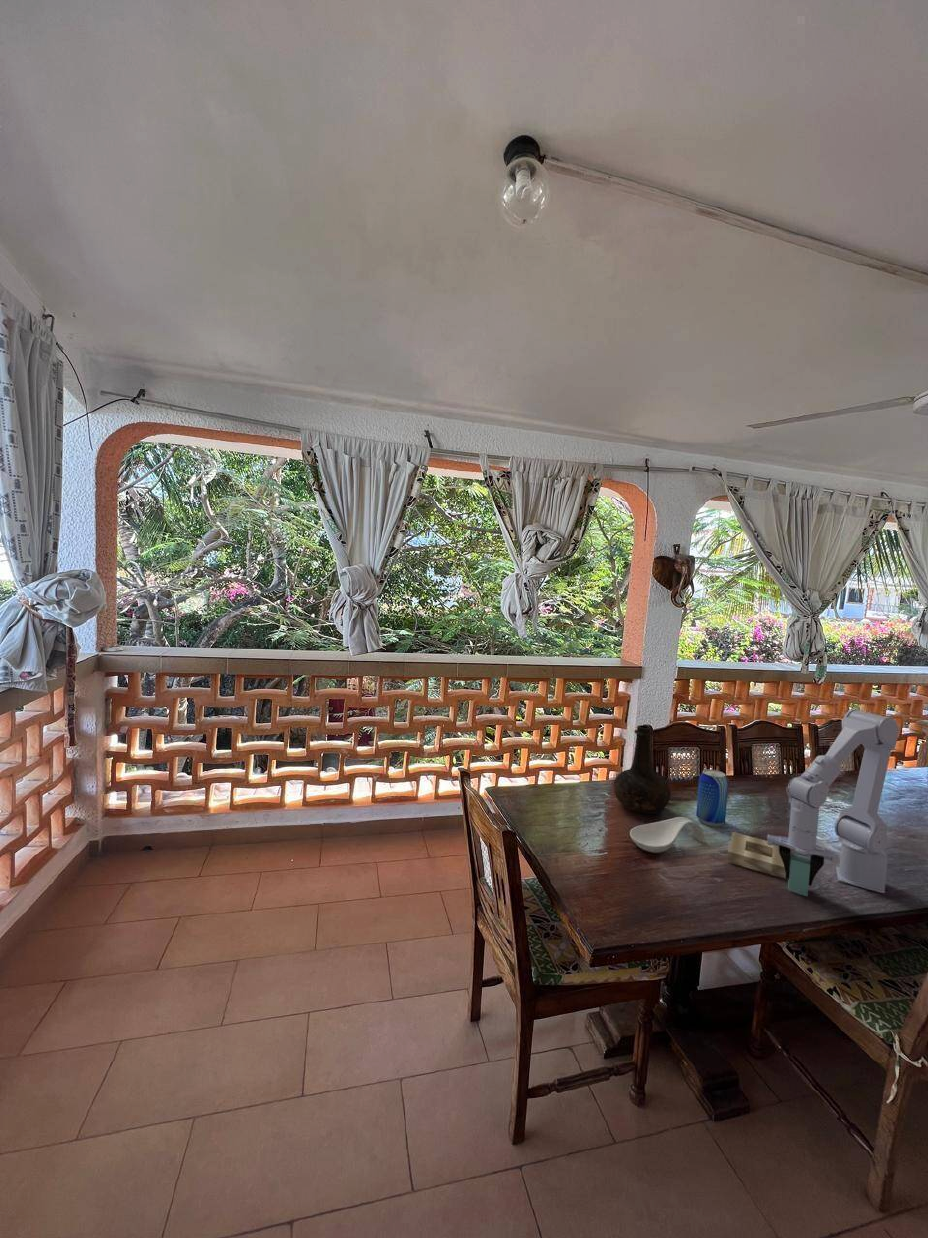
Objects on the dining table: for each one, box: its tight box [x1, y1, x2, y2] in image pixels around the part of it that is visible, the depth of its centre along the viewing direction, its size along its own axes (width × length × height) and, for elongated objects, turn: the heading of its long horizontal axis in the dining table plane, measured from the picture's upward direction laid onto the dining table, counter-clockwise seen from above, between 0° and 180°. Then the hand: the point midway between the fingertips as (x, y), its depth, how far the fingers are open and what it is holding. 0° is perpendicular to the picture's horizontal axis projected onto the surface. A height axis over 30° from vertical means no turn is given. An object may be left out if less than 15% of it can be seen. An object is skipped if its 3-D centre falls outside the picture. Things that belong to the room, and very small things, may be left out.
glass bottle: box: [613, 724, 671, 815], centre depth 171 cm, size 18×18×28 cm
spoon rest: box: [629, 816, 706, 854], centre depth 148 cm, size 24×12×7 cm, turn 112°
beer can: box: [695, 768, 729, 828], centre depth 164 cm, size 8×8×16 cm
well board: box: [726, 831, 787, 880], centre depth 141 cm, size 14×14×3 cm
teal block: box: [787, 852, 811, 897], centre depth 127 cm, size 4×4×8 cm
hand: (798, 880), depth 127 cm, fingers closed on teal block, 4 cm apart
